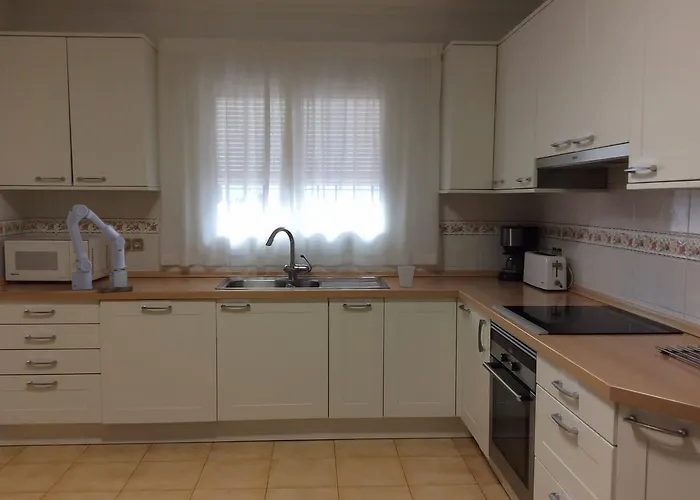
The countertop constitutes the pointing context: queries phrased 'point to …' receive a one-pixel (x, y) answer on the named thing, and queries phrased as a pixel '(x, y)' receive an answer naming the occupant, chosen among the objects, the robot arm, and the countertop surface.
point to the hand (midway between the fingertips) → (119, 282)
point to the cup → (406, 275)
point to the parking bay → (117, 289)
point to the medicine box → (118, 278)
